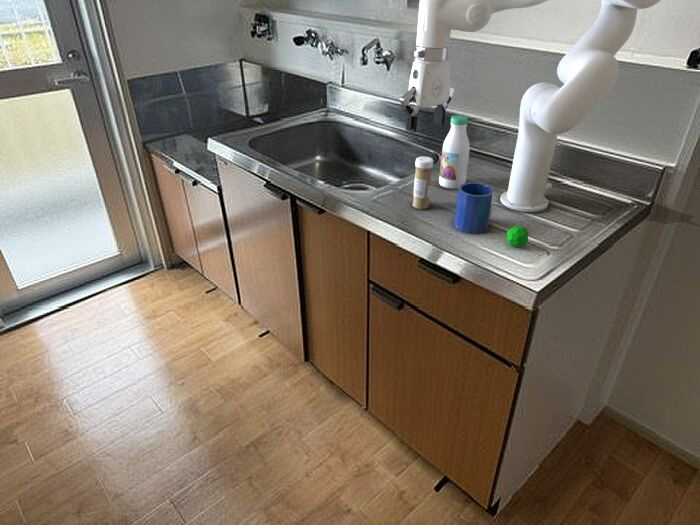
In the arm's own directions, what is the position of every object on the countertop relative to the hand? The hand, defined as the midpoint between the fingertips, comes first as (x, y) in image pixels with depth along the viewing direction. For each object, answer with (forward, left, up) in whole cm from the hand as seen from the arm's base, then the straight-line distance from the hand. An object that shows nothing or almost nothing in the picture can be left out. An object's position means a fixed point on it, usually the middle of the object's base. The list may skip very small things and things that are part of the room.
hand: (424, 127), depth 123 cm
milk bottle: (-18, -5, -22) cm, 29 cm away
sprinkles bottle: (-1, 0, -22) cm, 22 cm away
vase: (-3, +16, -22) cm, 27 cm away
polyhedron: (-3, +29, -22) cm, 37 cm away
